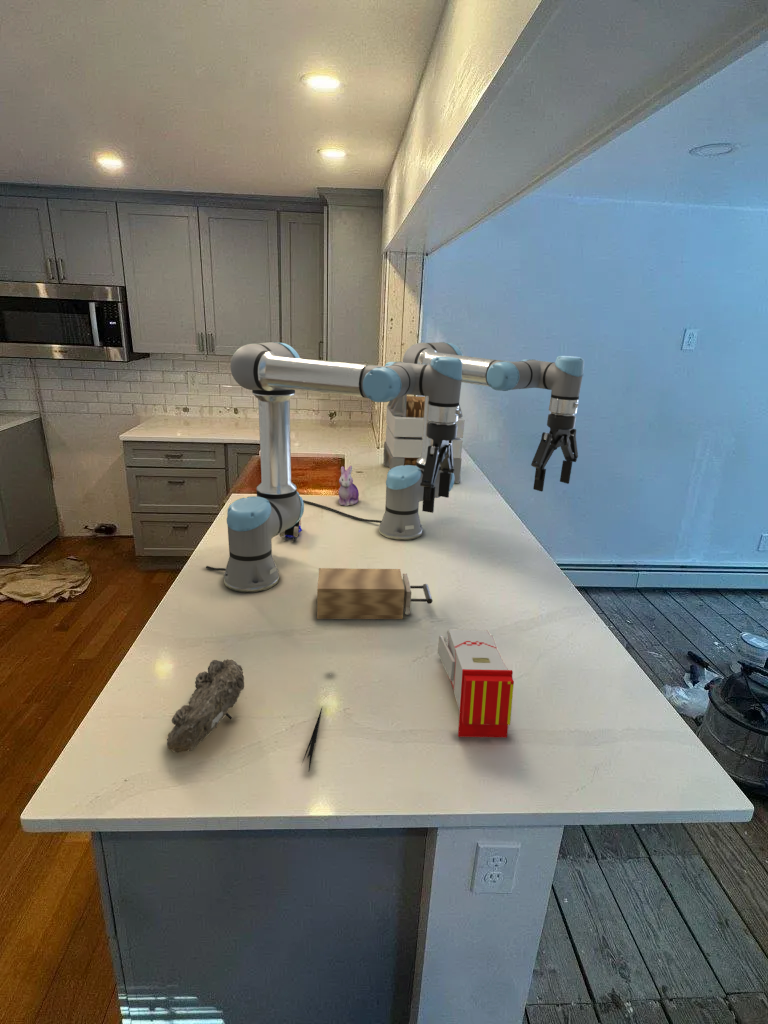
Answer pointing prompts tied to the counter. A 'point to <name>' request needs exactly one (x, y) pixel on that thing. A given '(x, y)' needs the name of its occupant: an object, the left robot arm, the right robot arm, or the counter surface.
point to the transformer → (413, 434)
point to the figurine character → (292, 531)
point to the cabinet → (360, 594)
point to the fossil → (206, 705)
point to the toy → (478, 682)
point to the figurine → (347, 488)
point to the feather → (313, 740)
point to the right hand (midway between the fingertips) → (551, 486)
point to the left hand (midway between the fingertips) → (435, 503)
